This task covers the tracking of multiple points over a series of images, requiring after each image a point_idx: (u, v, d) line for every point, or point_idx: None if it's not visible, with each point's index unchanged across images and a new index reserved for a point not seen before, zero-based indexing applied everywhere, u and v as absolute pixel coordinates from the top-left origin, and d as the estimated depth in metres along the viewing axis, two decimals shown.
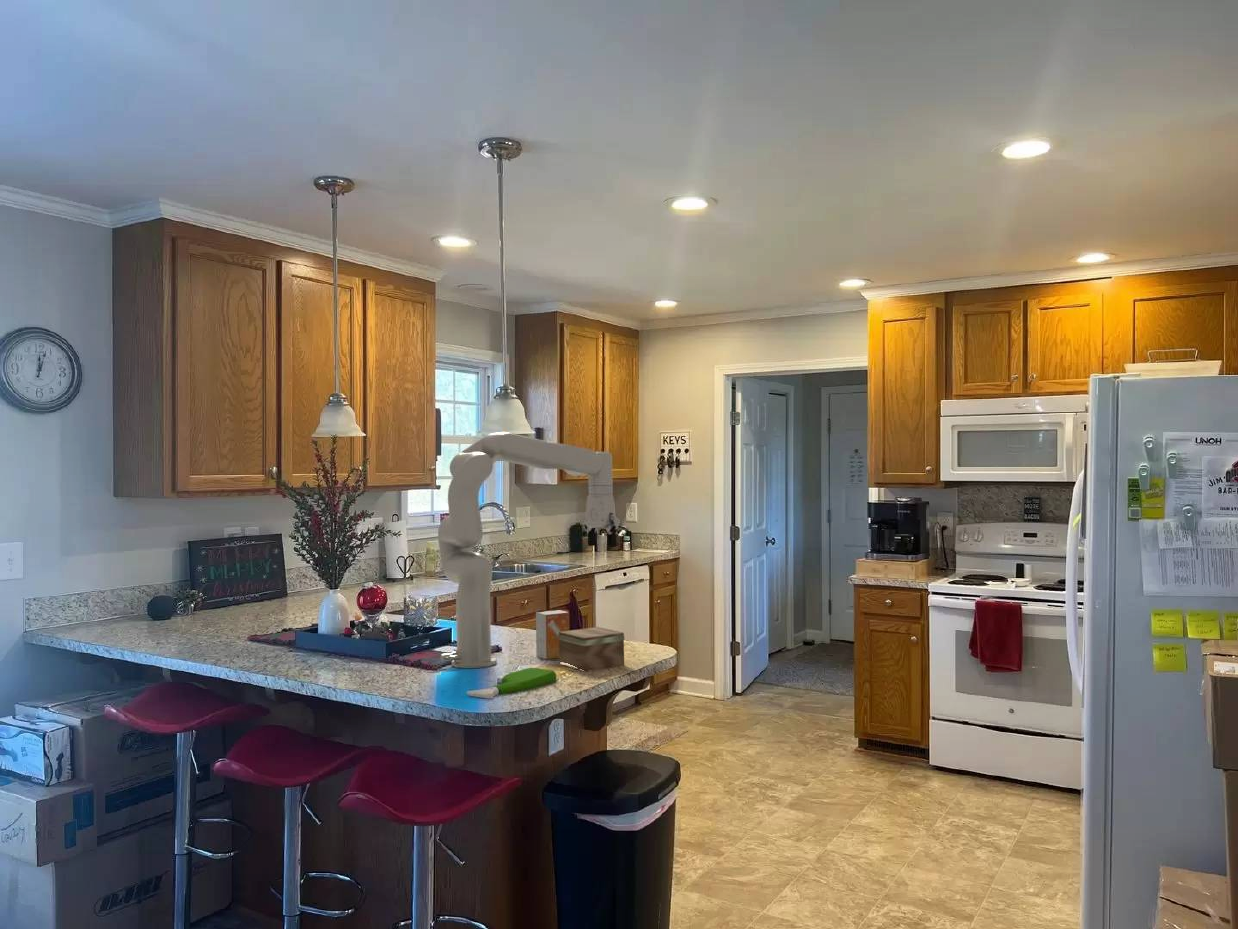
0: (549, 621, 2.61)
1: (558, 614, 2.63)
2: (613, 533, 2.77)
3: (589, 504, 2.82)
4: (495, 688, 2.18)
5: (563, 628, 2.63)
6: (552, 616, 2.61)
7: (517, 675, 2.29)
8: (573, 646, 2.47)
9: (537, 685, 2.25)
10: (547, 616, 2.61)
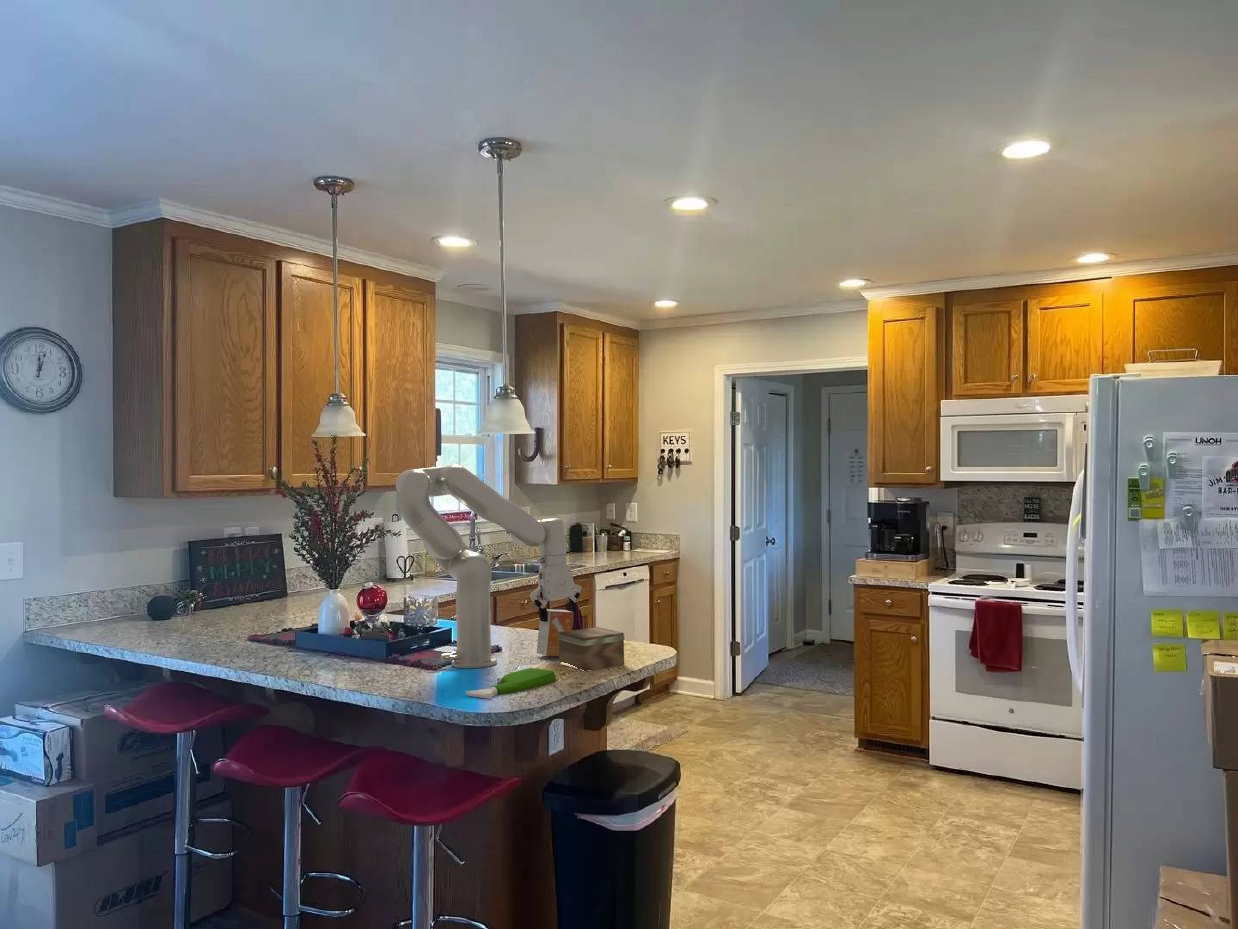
0: (553, 618, 2.62)
1: (563, 612, 2.63)
2: None
3: (552, 575, 2.62)
4: (494, 688, 2.18)
5: (566, 627, 2.64)
6: (556, 614, 2.62)
7: (516, 675, 2.29)
8: (573, 646, 2.47)
9: (536, 685, 2.25)
10: (552, 613, 2.61)
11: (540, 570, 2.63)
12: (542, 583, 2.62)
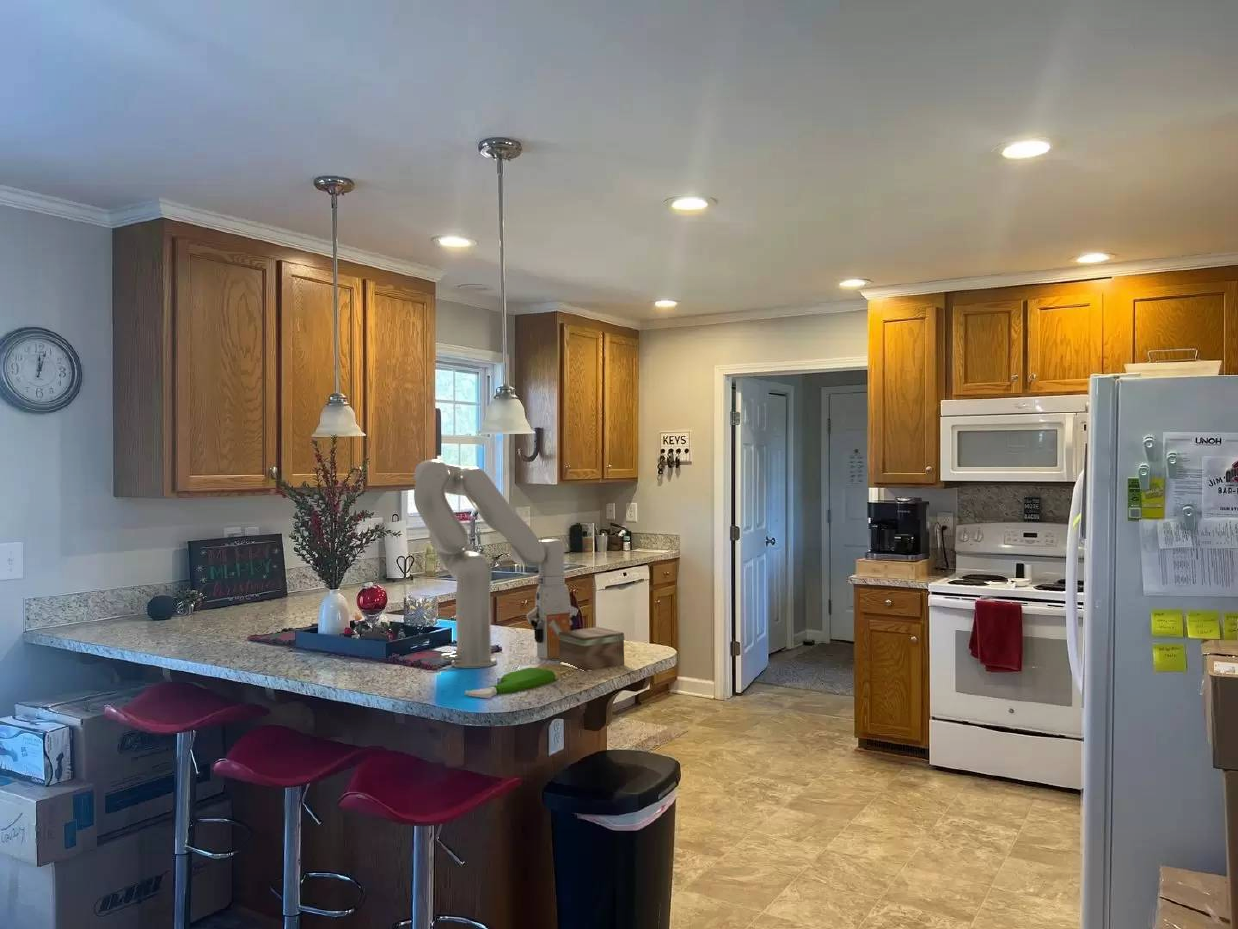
0: (550, 621, 2.61)
1: (559, 614, 2.63)
2: None
3: (549, 596, 2.61)
4: (493, 688, 2.18)
5: (564, 628, 2.64)
6: (553, 616, 2.62)
7: (516, 675, 2.29)
8: (573, 646, 2.47)
9: (535, 685, 2.25)
10: (548, 616, 2.61)
11: (538, 590, 2.63)
12: (539, 603, 2.61)
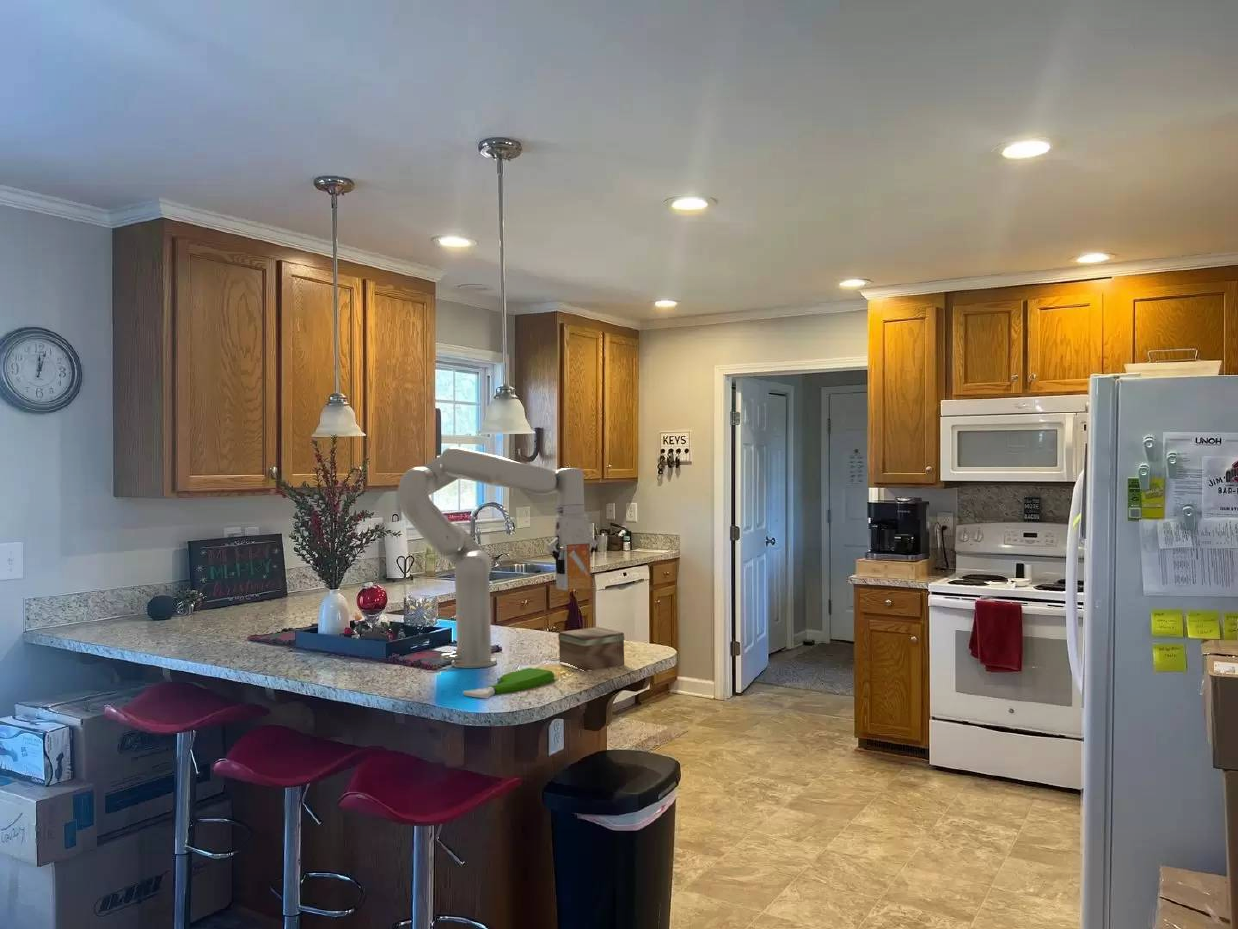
0: (570, 551, 2.54)
1: (579, 544, 2.56)
2: None
3: (570, 525, 2.55)
4: (491, 688, 2.18)
5: (584, 559, 2.57)
6: (573, 546, 2.55)
7: (514, 675, 2.29)
8: (573, 646, 2.47)
9: (534, 685, 2.25)
10: (568, 546, 2.54)
11: (557, 520, 2.56)
12: (559, 533, 2.54)
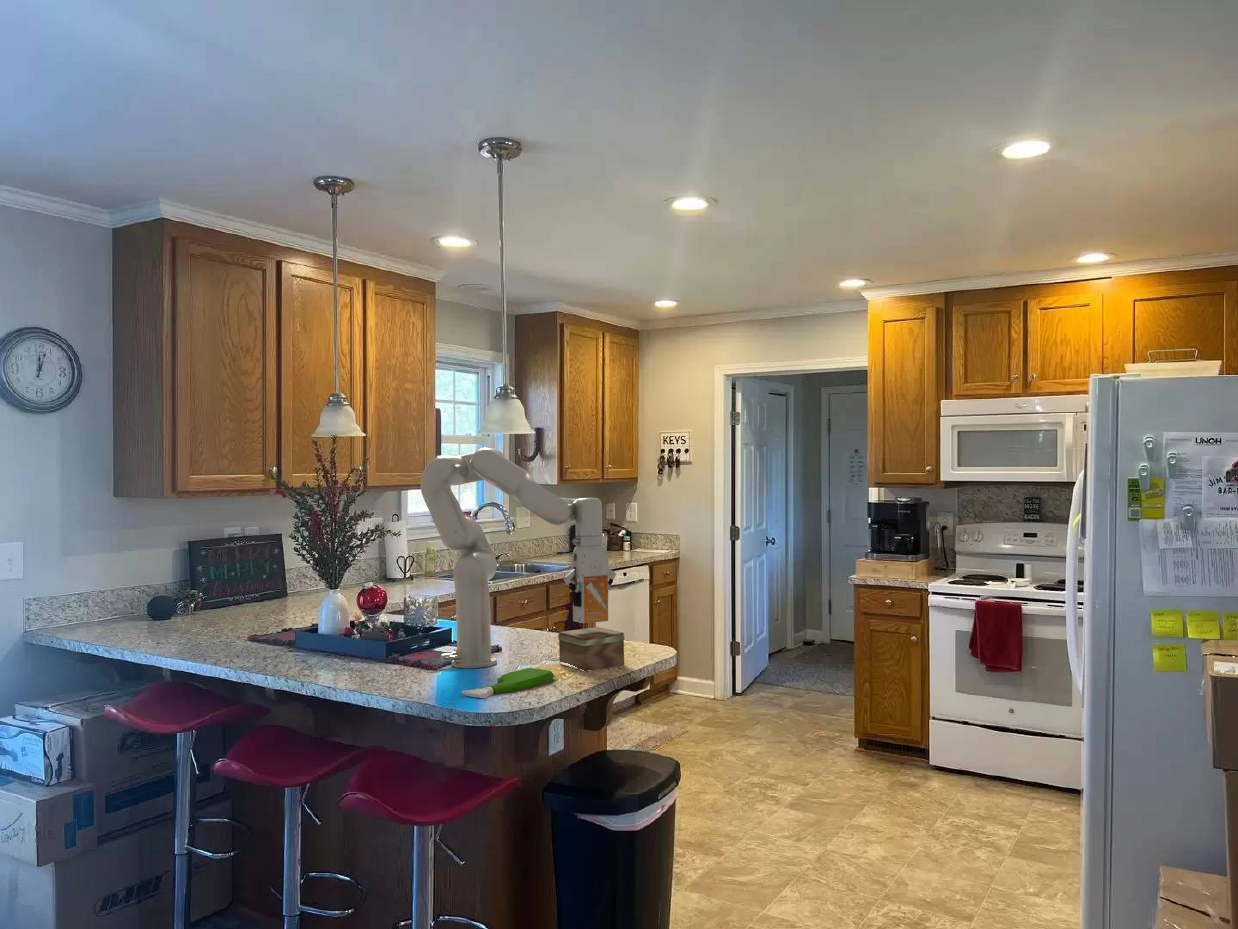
0: (587, 583, 2.48)
1: (596, 576, 2.50)
2: None
3: (587, 557, 2.49)
4: (490, 688, 2.18)
5: (602, 591, 2.51)
6: (590, 578, 2.49)
7: (514, 675, 2.29)
8: (573, 646, 2.47)
9: (533, 685, 2.25)
10: (585, 578, 2.48)
11: (575, 551, 2.50)
12: (576, 565, 2.48)
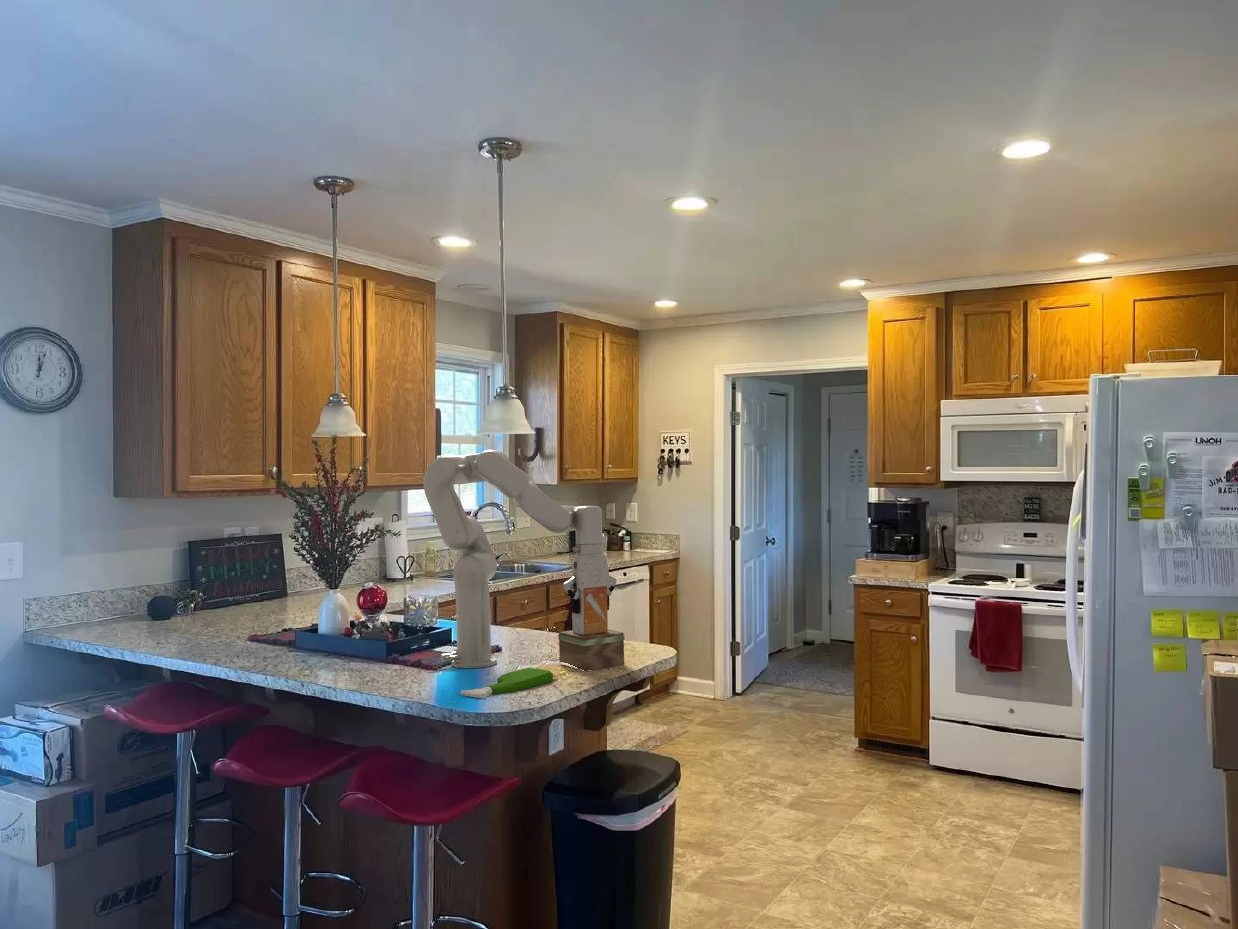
0: (587, 595, 2.48)
1: (596, 587, 2.50)
2: None
3: (587, 565, 2.48)
4: (489, 688, 2.18)
5: (601, 602, 2.51)
6: (590, 589, 2.49)
7: (513, 675, 2.29)
8: (573, 646, 2.47)
9: (532, 685, 2.25)
10: (585, 589, 2.48)
11: (575, 559, 2.50)
12: (576, 573, 2.48)
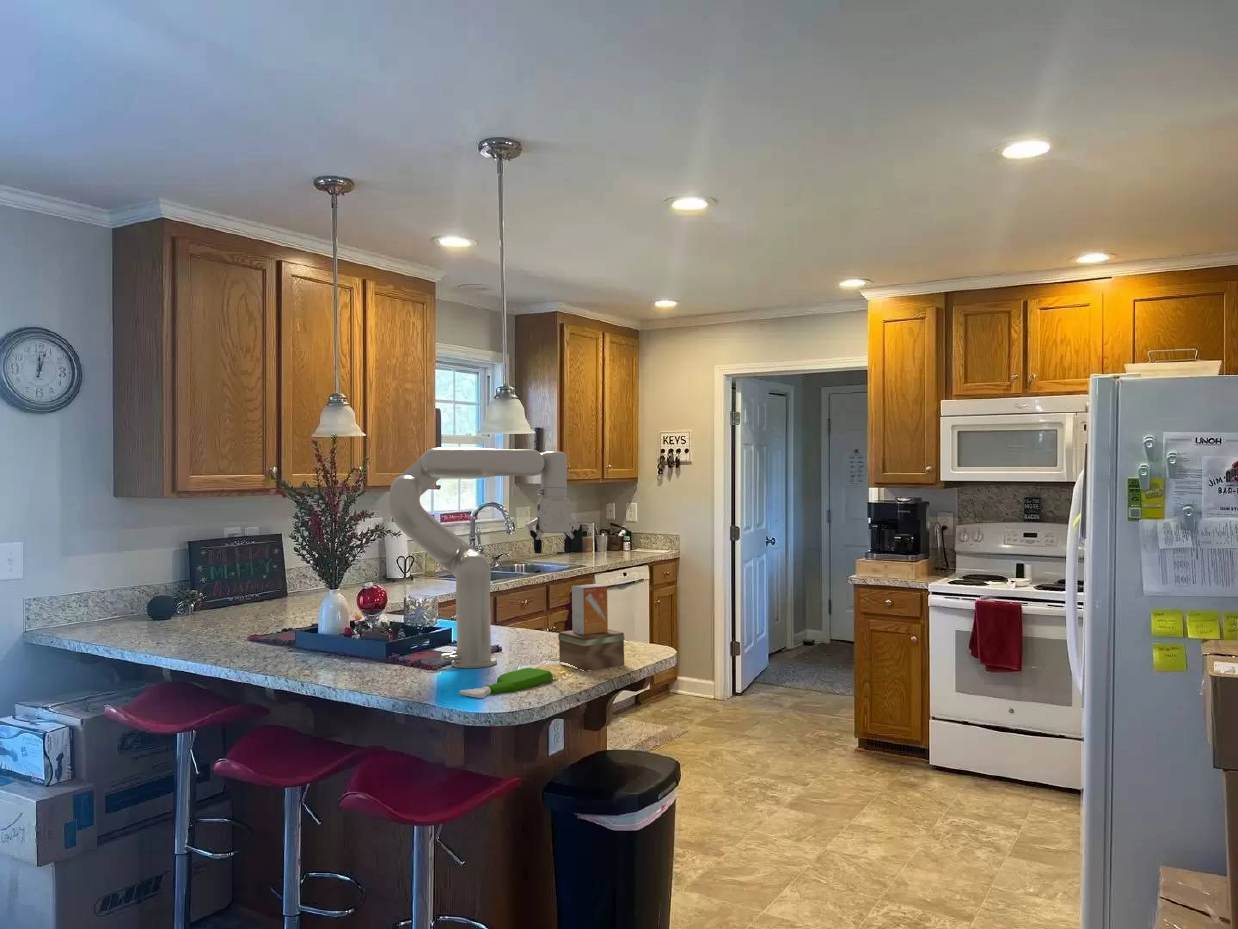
0: (587, 595, 2.48)
1: (596, 587, 2.50)
2: None
3: (550, 507, 2.59)
4: (487, 688, 2.18)
5: (601, 602, 2.51)
6: (590, 589, 2.49)
7: (512, 675, 2.29)
8: (573, 646, 2.47)
9: (531, 685, 2.25)
10: (585, 589, 2.48)
11: (539, 501, 2.61)
12: (539, 514, 2.59)
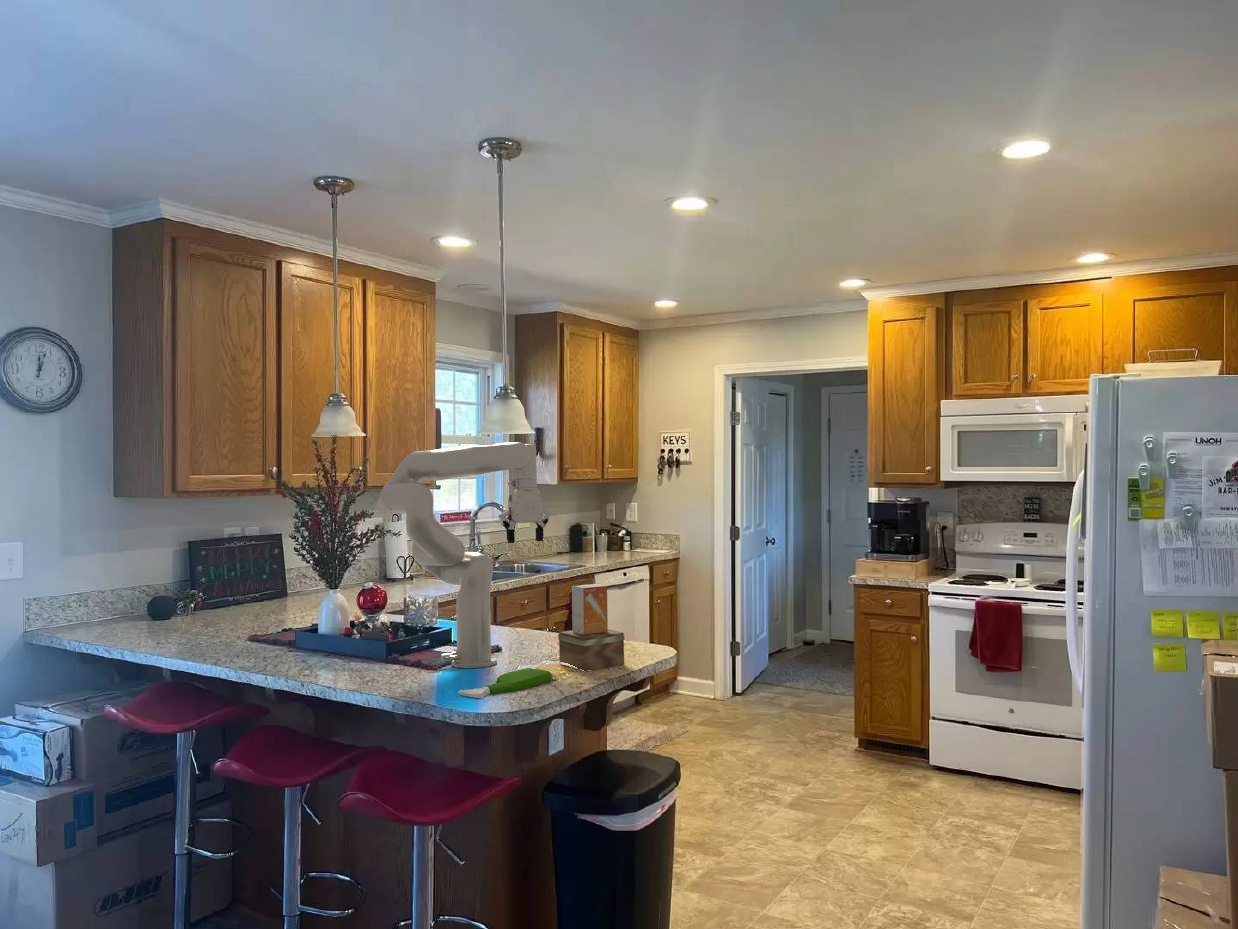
0: (587, 595, 2.48)
1: (596, 587, 2.50)
2: None
3: (521, 498, 2.68)
4: (486, 688, 2.18)
5: (601, 602, 2.51)
6: (590, 589, 2.49)
7: (512, 675, 2.29)
8: (573, 646, 2.47)
9: (530, 686, 2.25)
10: (585, 589, 2.48)
11: (510, 493, 2.70)
12: (511, 505, 2.68)
